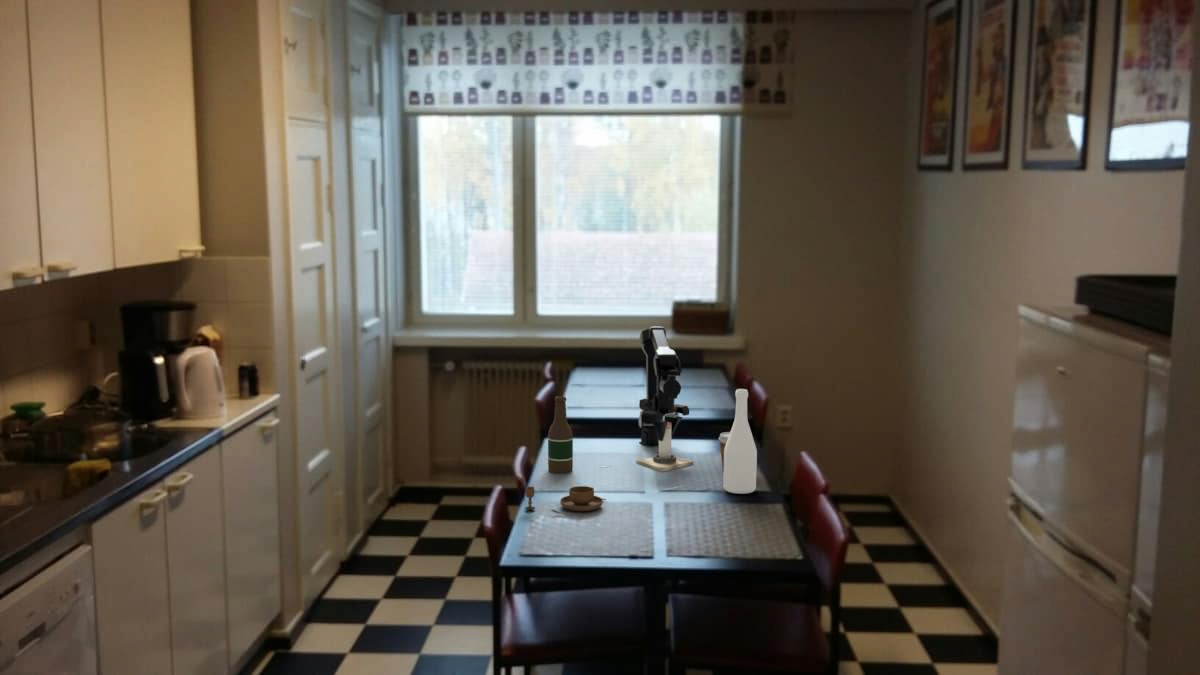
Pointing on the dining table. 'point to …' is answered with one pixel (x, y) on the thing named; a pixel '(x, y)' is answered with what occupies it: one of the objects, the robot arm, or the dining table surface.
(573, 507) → the place setting
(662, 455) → the peg
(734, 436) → the wine bottle
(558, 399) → the beer bottle
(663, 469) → the eye plate
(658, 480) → the dining table surface
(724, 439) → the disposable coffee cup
